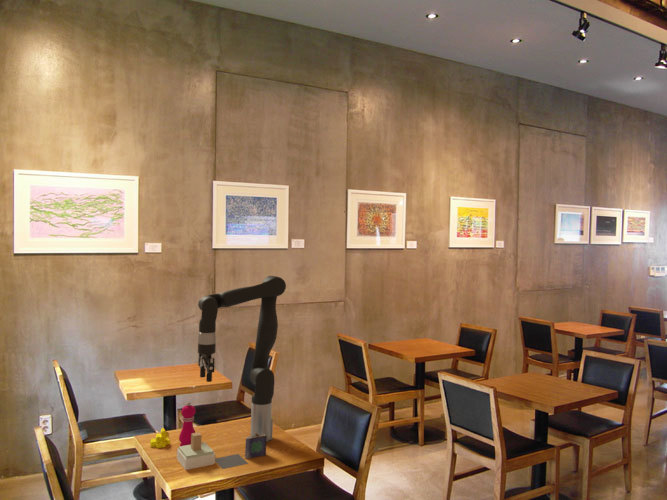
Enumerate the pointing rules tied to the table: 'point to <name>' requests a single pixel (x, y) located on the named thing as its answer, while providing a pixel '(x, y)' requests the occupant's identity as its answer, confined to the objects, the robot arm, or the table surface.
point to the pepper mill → (187, 424)
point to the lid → (195, 447)
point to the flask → (255, 445)
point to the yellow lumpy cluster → (160, 439)
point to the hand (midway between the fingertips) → (205, 379)
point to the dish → (195, 460)
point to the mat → (230, 461)
